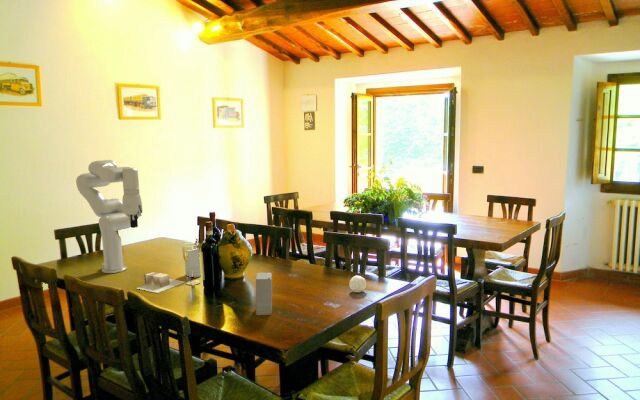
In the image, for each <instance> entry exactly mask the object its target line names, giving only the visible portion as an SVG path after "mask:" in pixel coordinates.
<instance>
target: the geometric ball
mask: <svg viewBox="0 0 640 400" xmlns="http://www.w3.org/2000/svg"><path fill="white" fill-rule="evenodd" d="M348 286H349V288H350V290H351V291H353V292H354V293H359V294H360V293H361V292H363V291H364V290H365V289H366V288H367V281H366V279H365V278H364V277H363V276H361V275H354V276H352V277H351V279H350V280H349V285H348Z"/></svg>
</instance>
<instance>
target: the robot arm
mask: <svg viewBox="0 0 640 400" xmlns="http://www.w3.org/2000/svg"><path fill="white" fill-rule="evenodd" d="M88 171H89V172H87V173H81V174H80V175H77V177H76V178H75V179H76V180H75V183H76V188H77V191H78V192H79V194H80V195H81V196H82V198H84V199H85V200H86V201H87V202H88V204H89V206H90V208H91V210H92V211H93V213H94V214H95V216H97V217H98V218H99V219H98V226H99V227H98V228H99V230H100V234H101V241H102V250H103V251H102V252H103V262H101V266H103V268H102V269H101V272H102V273H103V274H115V273H116V274H117V273H121V272H124V271H127V267H128V266H127V265H124V257H123V247H122V245H123V244H122V238H121V236H120V235H119V234H118V232H117V231H121V230H126V229H129V228H131V229H133V228H138V227H139V224H138V220H139V217H142V213H143V203H142V202H143V201H142V197H141V195H140V183H139V170H138V169H137V167H130V166H119V167H118V165H117V163H116V162H115V161H114V160H111V159H107V160H105V159H104V160H94V161H92V162H90V163H89V165H88ZM112 183H122V187H123V188H122V190H123V195H122V200H121V199H119V198H110V199H108V198H105V196H104V195H103V193H102V192H100V190H98V189H95V188H102V187H103V188H104V187H107V186H109V185H110V184H112Z"/></svg>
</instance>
